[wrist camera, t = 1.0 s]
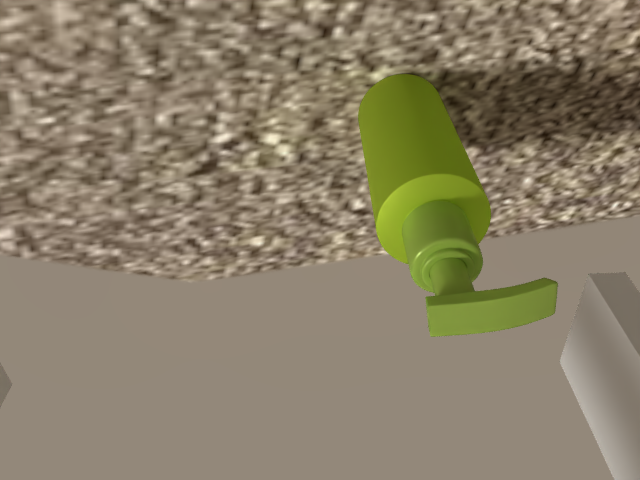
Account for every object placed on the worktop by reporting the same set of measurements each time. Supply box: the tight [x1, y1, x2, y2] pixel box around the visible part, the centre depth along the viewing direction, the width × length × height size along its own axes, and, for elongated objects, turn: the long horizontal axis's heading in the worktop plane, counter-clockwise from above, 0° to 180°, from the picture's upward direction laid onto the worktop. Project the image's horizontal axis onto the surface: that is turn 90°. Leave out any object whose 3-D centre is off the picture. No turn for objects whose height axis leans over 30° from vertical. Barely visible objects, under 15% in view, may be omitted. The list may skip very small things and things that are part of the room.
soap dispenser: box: [358, 74, 558, 337], centre depth 31 cm, size 6×7×20 cm
